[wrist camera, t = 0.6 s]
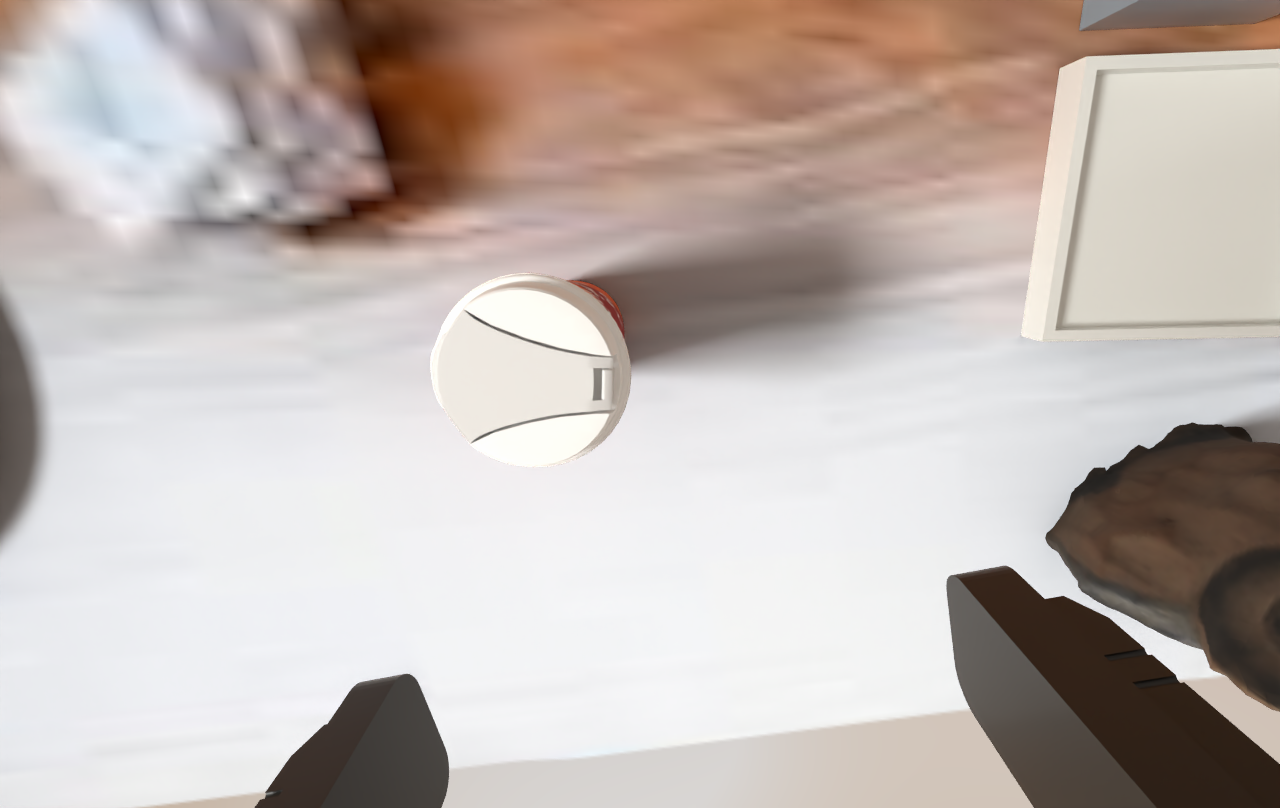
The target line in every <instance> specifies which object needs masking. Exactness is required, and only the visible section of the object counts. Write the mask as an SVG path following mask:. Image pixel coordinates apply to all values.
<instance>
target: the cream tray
mask: <svg viewBox="0 0 1280 808" xmlns="http://www.w3.org/2000/svg"><path fill="white" fill-rule="evenodd" d="M1021 336H1022V337H1026V338H1030V339H1034V340H1038V341H1042V342H1051V341H1102V340H1153V339H1204V338H1255V337H1280V49H1267V50H1241V51H1216V52H1190V53H1164V54H1138V55H1113V56H1087V57H1084V58H1082V59H1080V60H1078V61H1075V62H1073V63H1071V64H1068V65H1066V66H1064V67H1062V68H1060V70H1059V77H1058V84H1057V91H1056V98H1055V105H1054V111H1053V118H1052V125H1051V132H1050V139H1049V146H1048V153H1047V160H1046V166H1045V173H1044V180H1043V187H1042V194H1041V201H1040V208H1039V214H1038V221H1037V228H1036V235H1035V242H1034V249H1033V256H1032V263H1031V269H1030V276H1029V283H1028V290H1027V297H1026V304H1025V311H1024V317H1023V324H1022V331H1021Z"/></svg>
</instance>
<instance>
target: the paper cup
mask: <svg viewBox="0 0 1280 808" xmlns="http://www.w3.org/2000/svg"><path fill="white" fill-rule="evenodd" d="M431 377H432V384H433V388H434V391H435V395H436V398H437V400H438V402H439V403H440V404H441V406H442V407H443V409H444V410H445V412H446V414H447V415H448V417H449V418H450V420H451V421H452V422H453V424H454V425H455V427H456V428H457V429H458V431H459V432H460V433H461V434H462V435H463V437H464V438H465V439H466V440H467V441H468V442H469V444H470V445H471V446H472V447H474V448H475V449H476V450H478V451H480V452H481V453H483V454H485V455H486V456H488V457H491V458H493V459H495V460H497V461H500V462H503V463H507V464H511V465H516V466H524V467H548V466H554V465H560V464H564V463H567V462H570V461H573V460H576V459H578V458H580V457H581V456H583V455H585V454H587V453H589V452H590V451H592V450H593V449H594V448H596V447H597V446H598V445H600V444H601V443H602V442H603V441H604V440H605V439H606V438H607V437H608V436H609V435H610V434H611V432H612V431H613V429H614V428H615V426H616V425H617V424H618V422H619V420H620V418H621V416H622V414H623V412H624V410H625V407H626V404H627V400H628V397H629V393H630V384H631V364H630V358H629V354H628V349H627V346H626V343H625V340H624V324H623V319H622V315H621V313H620V310H619V308H618V306H617V305H616V303H615V302H614V300H613V299H612V298H611V297H610V296H609V295H608V294H607V293H606V292H605V291H604V290H602V289H601V288H599V287H597V286H595V285H593V284H590V283H587V282H582V281H574V280H564V279H560V278H557V277H553V276H550V275H545V274H537V273H516V274H511V275H506V276H501V277H498V278H495V279H492V280H490V281H487V282H485V283H483V284H481V285H480V286H478V287H476V288H475V289H473V290H471V291H470V292H469V293H468V294H467V295H466V296H464V297H463V298H462V299H461V300H460V301H459V302H458V303H457V304H456V306H455V307H454V308H453V309H452V310H451V312H450V313H449V315H448V317H447V318H446V320H445V322H444V324H443V325H442V328H441V331H440V334H439V336H438V339H437V341H436V344H435V346H434V348H433V351H432V353H431Z"/></svg>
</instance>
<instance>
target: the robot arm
mask: <svg viewBox="0 0 1280 808" xmlns="http://www.w3.org/2000/svg"><path fill="white" fill-rule="evenodd" d="M947 598H948V607H949V616H950V624H951V633H952V642H953V651H954V660H955V667H956V672H957V676H958V680H959V683H960V686H961V689H962V691H963V694H964V696H965V699H966V701H967V703H968V705H969V707H970V709H971V711H972V713H973V714H974V716H975V718H976V719H977V721H978V722H979V724H980V725H981V727H982V728H983V730H984V732H985V733H986V735H987V736H988V738H989V739H990V740H991V742H992V744H993V745H994V747H995V748H996V750H997V752H998V753H999V754H1000V756H1001V758H1002V759H1003V761H1004V762H1005V764H1006V765H1007V767H1008V768H1009V770H1010V772H1011V773H1012V774H1013V776H1014V778H1015V779H1016V781H1017V782H1018V784H1019V785H1020V787H1021V788H1022V790H1023V791H1024V793H1025V795H1026V796H1027V798H1028V799H1029V801H1030V802H1031V804H1032V805H1033V807H1034V808H1280V764H1279V763H1278V762H1276V761H1275V760H1274V759H1273V758H1272V757H1271V756H1269V755H1268V754H1267V753H1266V752H1265V751H1264V750H1263V749H1261V748H1260V747H1259V746H1258V745H1257V744H1255V743H1254V742H1253V741H1252V740H1251V739H1250V738H1249V737H1247V736H1246V735H1245V734H1244V733H1243V732H1242V731H1240V730H1239V729H1238V728H1237V727H1236V726H1235V725H1233V724H1232V723H1231V722H1229V720H1228V719H1226V718H1225V717H1224V716H1223V715H1221V714H1220V713H1219V712H1218V711H1217V710H1216V709H1215V708H1213V707H1212V706H1211V705H1210V704H1209V703H1208V702H1207V701H1205V700H1204V699H1203V698H1202V697H1201V696H1199V695H1198V694H1197V693H1196V692H1195V691H1194V690H1192V689H1191V688H1190V687H1189V686H1188V685H1187V684H1185V683H1184V682H1183V683H1180V682H1179V681H1178V680H1177V678H1176V675H1175V674H1174V673H1173V672H1171V671H1170V670H1169V669H1168V668H1167V667H1166V666H1164V665H1163V664H1162V663H1161V662H1160V661H1159V660H1157V659H1156V658H1155V657H1154V656H1153V655H1147V653H1146V652H1145V648H1143V647H1142V646H1141V645H1140V644H1139V643H1138V642H1136V641H1135V640H1134V639H1133V638H1132V637H1131V636H1129V635H1128V634H1127V633H1126V632H1125V631H1124V630H1122V629H1121V628H1120V627H1119V626H1118V625H1117V624H1115V623H1114V622H1113V621H1112V620H1111V619H1110V618H1108V617H1106V616H1104V615H1102V614H1100V613H1098V612H1096V611H1094V610H1092V609H1089V608H1087V607H1085V606H1083V605H1081V604H1079V603H1077V602H1075V601H1073V600H1071V599H1069V598H1067V597H1065V596H1060V597H1055V598H1049V599H1044V598H1043V597H1042V596H1041V595H1040V594H1039V593H1038V592H1037V591H1036V590H1035V589H1033V588H1032V587H1031V586H1030V585H1029V584H1028V583H1027V582H1026V581H1025V580H1024V579H1023V578H1022V577H1021V576H1020V575H1019V574H1018V573H1017V572H1016V571H1014V570H1013V569H1012V568H1010V567H1008V566H1000V567H995V568H989V569H984V570H978V571H973V572H967V573H962V574H957V575H951V576H949V577H948V579H947ZM448 779H449V763H448V756H447V752H446V749H445V746H444V744H443V741H442V739H441V737H440V734H439V732H438V729H437V727H436V724H435V722H434V720H433V717H432V715H431V712H430V710H429V707H428V705H427V703H426V700H425V698H424V695H423V693H422V690H421V688H420V686H419V684H418V682H417V680H416V679H415V678H414V677H413V676H412V675H410V674H403V675H397V676H392V677H386V678H381V679H375V680H370V681H364V682H360V683H358V684H356V685H355V686H354V687H353V688H352V689H351V691H350V692H349V693H348V695H347V696H346V698H345V699H344V701H343V702H342V704H341V705H340V707H339V708H338V710H337V711H336V713H335V714H334V716H333V717H332V718H331V720H330V721H329V723H328V724H326V725H324V726H323V727H322V728H321V729H319V730H318V731H317V732H316V733H315V734H314V735H313V736H312V737H311V738H310V739H309V740H308V741H307V742H306V743H305V744H304V745H303V746H302V747H300V748H299V749H298V750H297V751H296V752H295V753H294V754H293V755H292V756H291V757H290V758H289V760H288V761H287V763H286V764H285V766H284V767H283V768H282V770H281V771H280V773H279V774H278V775H277V777H276V778H275V780H274V781H273V782H272V784H271V785H270V787H269V788H268V790H267V791H266V797H265V799H262V800H260V801H259V802H258V804H257V805H256V806H255V808H441V807H442V804H443V802H444V799H445V796H446V792H447V787H448Z"/></svg>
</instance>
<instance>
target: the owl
mask: <svg viewBox="0 0 1280 808" xmlns="http://www.w3.org/2000/svg"><path fill="white" fill-rule="evenodd" d="M1046 541H1047V543H1048V545H1049V546H1050V547H1051V548H1052V549H1054V550H1056V551H1057V552H1058V553H1059V554H1060V556H1061V558H1062V559H1063V561H1064V563H1065V565H1066V566H1067V567H1068V568H1069V569H1070V571H1071V573H1072V574H1073V576H1074V577H1075V578H1076V579H1077V581H1078V587H1079V588H1080V589H1081V591H1082V592H1084V593H1085V594H1087V595H1089V596H1090V597H1091V598H1093V599H1094V600H1096V601H1097V602H1099V603H1101V604H1103V605H1105V606H1107V607H1109V608H1111V609H1114V610H1117V611H1119V612H1121V613H1123V614H1125V615H1127V616H1129V617H1131V618H1133V619H1135V620H1137V621H1139V622H1140V623H1142V624H1144V625H1145V626H1147V627H1149V628H1151V629H1154V630H1155V631H1157V632H1159V633H1161V634H1163V635H1165V636H1167V637H1169V638H1172V639H1174V640H1177V641H1179V642H1181V643H1183V644H1186V645H1189V646H1192V647H1195V648H1199V649H1202V650H1204V652H1205V654H1206V657H1207V660H1208V663H1209V665H1210V668H1211V669H1212V670H1213V671H1216V672H1218V673H1221V674H1223V675H1225V676H1227V677H1228V678H1229V679H1230V680H1231V681H1232V682H1233V683H1234V684H1235V685H1236V686H1237V687H1238V688H1239V689H1241V690H1242V691H1243V692H1244V693H1245V694H1246V695H1247V696H1250V697H1251V698H1253V699H1255V700H1257V701H1258V702H1260V703H1262V704H1263V705H1265V706H1267V707H1268V708H1270V709H1272V710H1276V711H1279V712H1280V444H1278V443H1267V442H1252V439H1251V437H1250V435H1249V434H1248V433H1247V431H1246V430H1245V429H1243V428H1241V427H1223V426H1222V425H1218V424H1215V425H1201V424H1199V425H1198V424H1195V423H1190V424H1187V425H1179V426H1177V427H1175V428H1174V429H1173V430H1172V431H1171V432H1169V433H1168V434H1167V436H1166V437H1165V438H1164V439H1163V440H1162V441H1161V442H1159V443H1158V444H1156V445H1155V446H1154V447H1153V448H1150V449H1147V448H1145V447H1143V446H1140V445H1138V446H1137V447H1135V448H1134V449H1132V450H1131V451H1130V452H1129V453H1128V454H1127V456H1126V457H1125V458H1124V459H1123V460H1122V461H1120V462H1118V463H1116V464H1114V465H1112V466H1110V468H1109V469H1108V470H1107V471H1106V470H1105V468H1093V469H1092V470H1091V471H1090V472H1089V474H1088V476H1087V478H1086V479H1085V481H1084V482H1083V483H1082V484H1080V485H1079V486H1078V487H1077V488H1075V490H1074V491H1073V492H1072V493H1071V497H1070V500H1069V503H1068V505H1067V508H1066V510H1065V511H1064V513H1063V514H1062V516H1061V517H1060V519H1059V520H1058V522H1057V523H1056V524H1055V526H1054V527H1053V528H1052V529H1051V530H1050V531H1049V532H1048V533H1047V534H1046Z"/></svg>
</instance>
